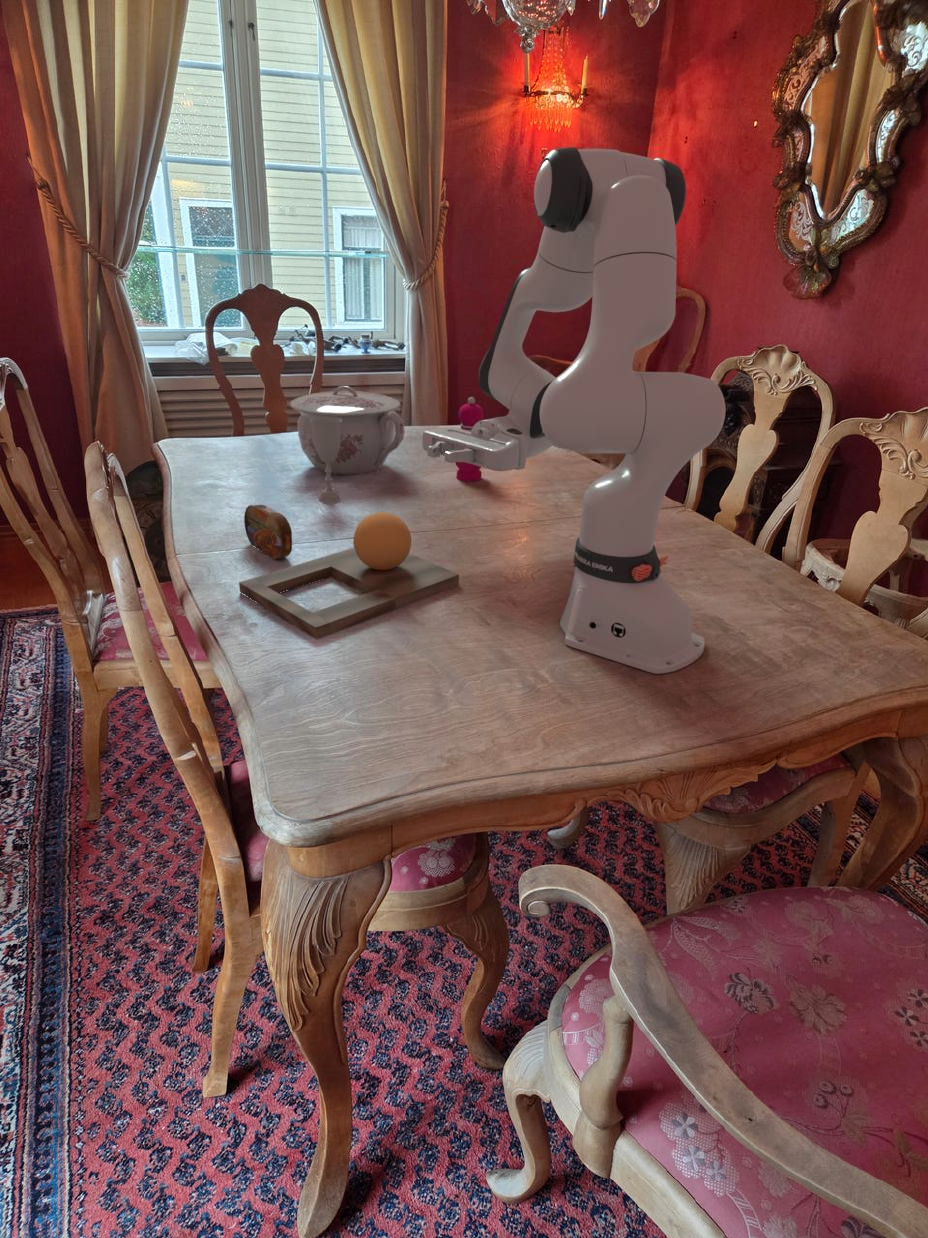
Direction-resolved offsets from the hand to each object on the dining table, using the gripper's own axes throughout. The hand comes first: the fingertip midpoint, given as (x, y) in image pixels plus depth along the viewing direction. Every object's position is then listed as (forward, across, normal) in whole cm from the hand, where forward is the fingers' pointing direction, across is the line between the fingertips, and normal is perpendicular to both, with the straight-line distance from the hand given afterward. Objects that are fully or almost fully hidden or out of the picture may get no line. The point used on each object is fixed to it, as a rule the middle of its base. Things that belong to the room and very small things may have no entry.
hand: (438, 454), depth 135 cm
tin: (+21, -24, +20) cm, 38 cm away
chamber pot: (-25, -60, +20) cm, 68 cm away
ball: (+13, 0, +13) cm, 18 cm away
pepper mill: (-43, -34, +20) cm, 58 cm away
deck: (+19, 0, +20) cm, 28 cm away
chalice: (-6, -42, +20) cm, 47 cm away
